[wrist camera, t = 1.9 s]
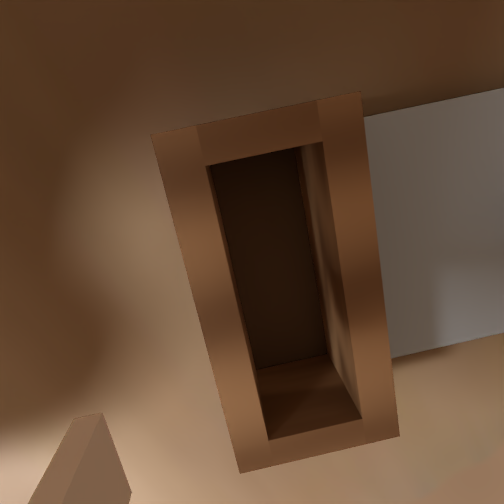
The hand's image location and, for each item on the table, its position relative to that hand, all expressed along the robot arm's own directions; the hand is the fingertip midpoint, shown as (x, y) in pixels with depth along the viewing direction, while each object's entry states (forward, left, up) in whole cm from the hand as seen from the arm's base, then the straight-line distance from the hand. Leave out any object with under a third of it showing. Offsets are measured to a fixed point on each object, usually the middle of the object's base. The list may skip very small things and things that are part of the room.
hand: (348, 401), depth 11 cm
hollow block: (0, 0, -12) cm, 12 cm away
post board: (+15, 0, -12) cm, 19 cm away
